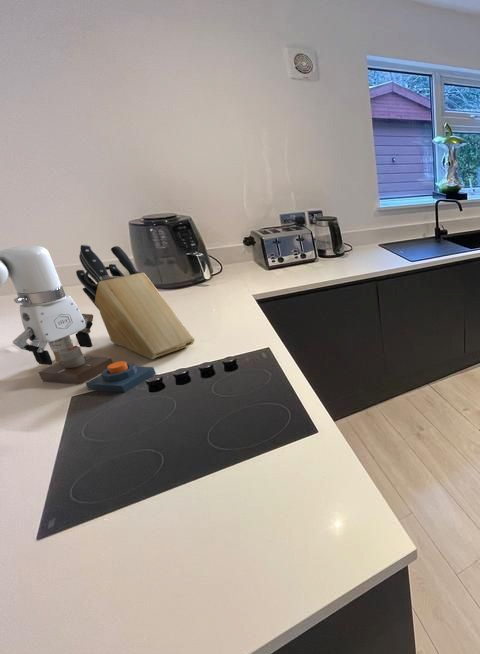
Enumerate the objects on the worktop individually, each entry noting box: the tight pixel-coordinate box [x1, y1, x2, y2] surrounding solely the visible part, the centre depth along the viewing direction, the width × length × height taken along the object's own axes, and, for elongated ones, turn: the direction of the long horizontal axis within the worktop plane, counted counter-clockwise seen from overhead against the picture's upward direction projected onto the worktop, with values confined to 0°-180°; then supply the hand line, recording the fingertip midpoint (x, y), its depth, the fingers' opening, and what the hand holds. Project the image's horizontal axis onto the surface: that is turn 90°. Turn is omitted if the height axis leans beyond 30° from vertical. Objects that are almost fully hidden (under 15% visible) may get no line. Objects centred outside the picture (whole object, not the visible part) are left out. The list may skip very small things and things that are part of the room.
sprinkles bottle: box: [47, 335, 75, 362], centre depth 114 cm, size 5×5×13 cm
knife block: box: [75, 244, 195, 360], centre depth 121 cm, size 11×35×31 cm, turn 64°
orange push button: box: [107, 360, 128, 374], centre depth 105 cm, size 4×4×2 cm
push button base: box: [85, 362, 157, 394], centre depth 106 cm, size 10×9×4 cm
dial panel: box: [37, 355, 114, 385], centre depth 109 cm, size 11×9×3 cm
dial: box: [58, 345, 86, 368], centre depth 108 cm, size 4×4×5 cm
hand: (67, 355), depth 107 cm, fingers open, 9 cm apart
